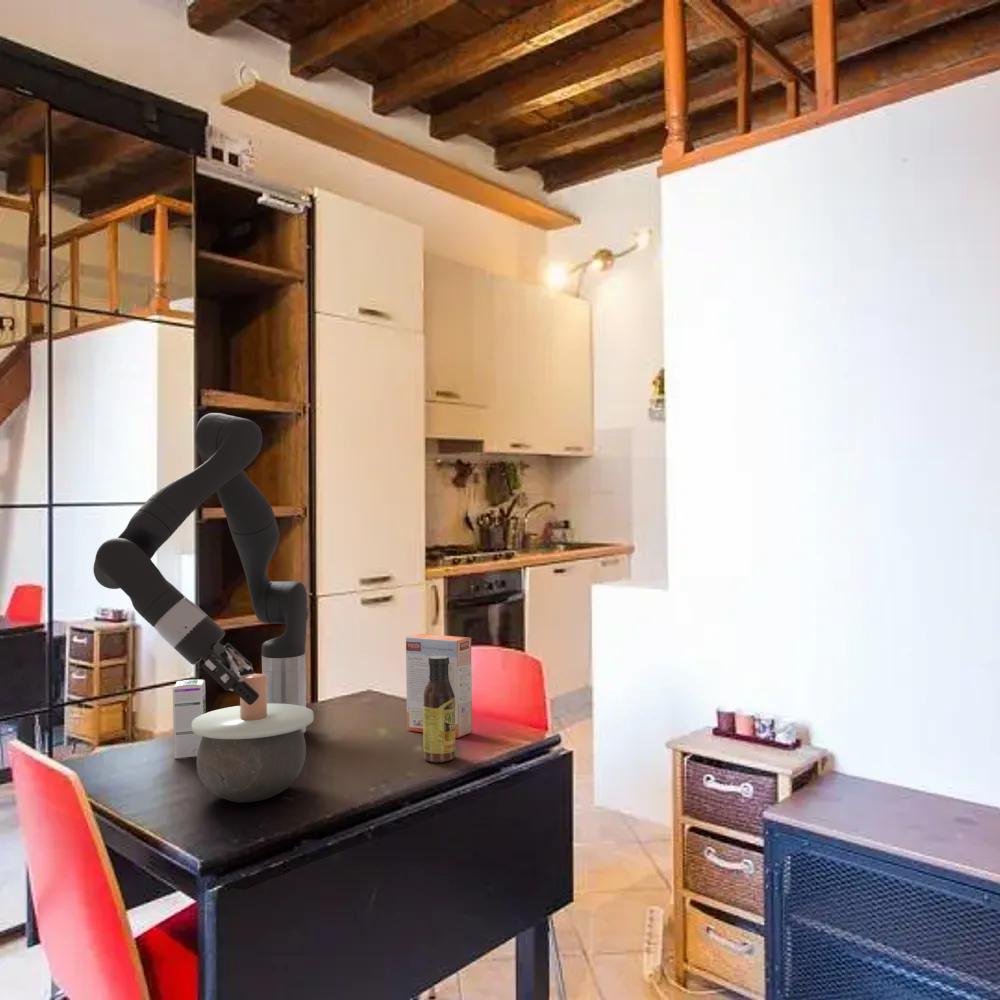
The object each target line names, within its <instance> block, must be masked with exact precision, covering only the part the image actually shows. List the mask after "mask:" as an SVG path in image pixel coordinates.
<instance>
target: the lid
mask: <svg viewBox="0 0 1000 1000" xmlns="http://www.w3.org/2000/svg"><path fill="white" fill-rule="evenodd" d="M241 677H242V679H243V681H245V682H246V683H247V684H249V685H250V686H251V687H252V688H253V689H254V690H255V691H256V692H257V693H258V694H259V698H258V699H257V700H256V701H255V702H254V703H253V704H252V705H249V704H247V703H246V702H245V701H244V700H243V699H242V698H241V697H240V696H239V705H236V706H235V705H233V706H228V707H224V708H219V709H215V710H211V711H207V712H206V713H205V714H202V715H200V716H198V717H196V718H195V719H194V720H193V721H192V731H193V732H194V733H195V734H197V735H200V736H203V737H208V738H216V739H251V738H261V737H269V736H275V735H280V734H285V733H289V732H293V731H296V730H299V729H302V728H304V727H306V728H307V726H309V725H311V724H312V723H313V722H314V719H315V718H314V716H315V715H314V711H313V709H310V708H309V707H307V706H306V707H304V706H299V705H293V704H277V703H269V704H267V675H265V674H262V673H256V674H248V675H243V676H241ZM243 681H242V682H243Z"/></svg>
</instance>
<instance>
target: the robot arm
mask: <svg viewBox="0 0 1000 1000" xmlns="http://www.w3.org/2000/svg"><path fill="white" fill-rule="evenodd" d="M194 435H195V437H194V438H195V444H196V448H197V451H198V454H199V456H200V458H201V461H202V462H203V463H202V464H201V465H199V466H198V467H197V468H195V469H193V470H192V471H190V472H187V473H186V474H184V475H182V476H180V477H178V478H176V479H175V480H172V481H171V482H169V483H167V484H166V485H163V486H162V487H161V488H159V489H158V490H157V491H155V493H154V494H152V495H151V496H150V497H149V498H148V499H147V500H146V502H144V503H143V505H142V506H141V507H140V508H139V509H138V510H137V511H136V512H135V513H134V514H133V515H132V517H131V518H130V520H129V521H128V524H127V526H126V527H125V529H124V531H123V532H121V533H120V535H118V537H115V538H110V539H108V540H106V541H104V542H103V543H102V544H100V546H99V548H98V549H97V551H96V554H95V559H94V563H93V567H92V570H93V575H94V577H95V580H96V581H97V583H99V585H101V586H102V587H104V588H107V589H109V590H117V589H120V590H122V591H123V592H124V593H125V595H127V596H128V597H129V599H130V601H131V604H132V607H133V609H135V611H136V612H137V613H138V614H139V615H140V617H142V618H143V619H144V620H145V621H146V622H147V623H148V624H150V625H151V627H153V629H155V630H156V631H157V633H158V634H159V636H160V637H162V639H164V640H165V641H166V642H167V643H168V644H169V645H170V646H171V647H172V648H173V649H174V650H175V651H176V652H177V653H178V654H180V656H182V657H183V658H184V659H185V660H186V661H187V662H188V663H189V664H191V665H192V666H193V665H196V664H198V663H199V662H200V661H201V660H203V661H204V663H203V664H201V666H200V667H201V669H202V670H203V671H205V672H206V673H207V674H208V675H209V676H210V677H211V678H212V679H213V680H214V681H215V682H216V683H217V684H219V685H220V686H221V688H223V690H224V691H226V692H229V691H231V692H234V693H235V694H236V695H238V696H239V698H240V697H241V698H242V699H243V700H244V701H245V702H246V703H247V704H249V705H252V704H253V703H254V702H255V701H256V700H257V699H258V698H259V694H258V693H257V692H256V691H255V690H254V689H253V688H252V687H251V686H250V685H249V684H247V683H246V682H245V681H243V679H242V677H241V676H243V675H248V674H257V673H256V671H254V668H253V664H252V662H251V661H249V660H248V659H247V658H246V657H245V656H244V655H242V653H241V652H240V651H238V650H237V649H236V648H235V647H234V646H233V645H232V644H231V643H229V642H227V643H225V645H223V644H222V643H221V642H220V641H221V640H222V639H223V638H224V637H225V635H226V631H225V630H224V629H223V628H222V627H221V626H219V625H218V623H216V622H215V621H214V619H212V618H211V617H210V616H209V615H208V614H207V613H206V612H205V611H203V610H202V608H200V607H199V606H198V605H197V604H196V603H194V602H193V601H191V600H190V599H189V598H187V597H186V596H185V595H184V594H183V593H182V592H181V591H180V590H178V589H177V588H176V586H174V585H173V584H172V583H171V582H169V580H167V579H166V578H165V576H164V575H163V574H162V572H161V571H160V569H159V568H158V567H157V566H156V564H155V563H154V562H153V561H152V558H153V557H154V555H155V554H156V552H157V551H158V550H159V549H160V548H161V547H162V546H163V544H165V543H166V542H167V541H168V540H169V539H170V538H171V536H172V535H174V534H175V532H176V531H177V530H178V529H179V528H180V527H181V525H182V524H183V523H184V522H185V521H186V520H187V519H188V517H189V516H191V514H192V513H193V512H195V510H197V509H198V508H199V507H200V506H201V505H202V504H203V503H204V502H205V501H206V500H208V499H209V498H210V497H211V496H212V495H214V494H215V493H217V495H218V499H219V501H220V504H221V507H222V510H223V513H224V515H225V517H226V521H227V523H228V528H229V531H230V533H231V537H232V541H233V543H234V545H235V547H236V551H237V552H238V555H239V559H240V561H241V564H242V568H243V570H244V574H245V578H246V583H247V587H248V592H249V597H250V602H251V605H252V609H253V611H254V614H255V617H256V618H257V620H258V621H259V622H260V623H264V624H267V625H268V624H273V625H275V624H277V625H278V624H283V625H284V624H285V631H284V632H283V633H282V634H281V635H279V636H277V637H274V638H271V639H268V640H266V641H264V642H263V643H262V645H261V674H265V675H267V704H269V703H277V704H293V705H299V706H304V707H307V703H306V702H307V701H306V700H307V695H306V694H307V693H306V691H307V690H306V689H307V688H306V687H307V686H306V678H307V677H306V640H307V616H308V594H307V589H306V586H305V584H304V583H302V582H301V581H288V580H287V581H273V580H271V579H270V577H269V574H268V566H269V563H270V561H271V559H272V557H273V555H274V553H275V552H276V549H277V547H278V543H279V541H280V530H279V526H278V522H277V520H276V516H275V513H274V511H273V510H274V509H273V508H272V506H271V503H270V502H269V501H268V499H267V498H266V496H265V495H264V494H263V493H262V492H261V490H260V489H259V488H258V487H257V486H256V484H255V483H254V482H253V481H252V480H251V478H250V477H249V476H248V474H247V473H246V472H245V469H246V468H247V467H248V466H249V465H250V464H251V463H252V462H254V460H255V459H256V458H257V457H258V455H259V453H260V451H261V448H262V445H263V433H262V430H261V428H260V426H259V425H258V424H257V423H256V422H255V421H252V420H250V419H248V418H243V417H239V416H235V415H229V414H226V413H221V412H220V413H219V412H210V413H207V414H205V415H203V416H202V417H201V418H200V419H199V421H198V422H197V425H196V429H195V434H194ZM242 681H243V682H242ZM302 732H303V735H304V734H306V732H307V726H306V727H304V728H302Z"/></svg>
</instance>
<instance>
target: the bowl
mask: <svg viewBox="0 0 1000 1000" xmlns="http://www.w3.org/2000/svg"><path fill="white" fill-rule="evenodd" d="M306 756H307V745H306V739H305V735H304V734H303V732H302V729H299V730H296V731H293V732H289V733H285V734H280V735H275V736H269V737H261V738H251V739H216V738H208V737H203V736H202V739H201V742H200V745H199V749H198V754H197V757H196V764H195V765H196V770H197V771H196V772H197V775H198V777H199V779H200V780H201V783H202V784H203V785H204V786H205V788H206V789H208V790H209V791H210V792H211V793H212V794H214V795H215V796H218V797H219V798H222V799H223V800H226V801H228V802H232V803H239V804H240V803H245V804H246V803H255V802H260V801H265V800H267V799H270V798H272V797H275V796H277V795H278V794H280V793H282V792H284V791H285V790H286V789H287V788H289V787H290V786H291V785H292V784H293V783H294V781H296V779H297V778H298V776H299V775H300V774H301V772H302V771H303V768H304V765H305V761H306Z"/></svg>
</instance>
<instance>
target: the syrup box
mask: <svg viewBox="0 0 1000 1000" xmlns="http://www.w3.org/2000/svg"><path fill="white" fill-rule="evenodd" d="M171 689H172V716H173V717H172V718H173V719H172V720H173V722H172V723H173V725H172V726H173V755H174V759H181V758H180V757H191V756H197V754H198V749H199V745H200V742H201V739H202V736H200V735H197V734H195V733H194V732H193V731H192V721H193V720H194V719H195V718H196V717H198V716H200V715H202V714H205V713H207V707H206V705H207V704H206V698H207V697H206V680H205V679H185V680H177V681H176V683H175V684H174V685H173V686H172V688H171Z"/></svg>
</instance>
